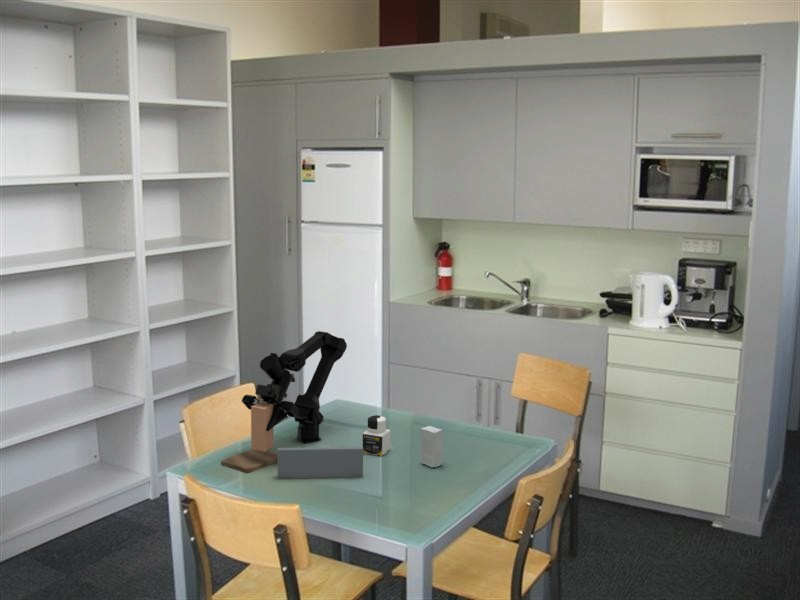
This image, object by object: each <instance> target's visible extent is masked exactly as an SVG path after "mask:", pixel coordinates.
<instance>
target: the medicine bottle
mask: <svg viewBox="0 0 800 600" xmlns="http://www.w3.org/2000/svg"><path fill="white" fill-rule="evenodd" d="M386 425H387V418H386V417H385V416H382V415H379V414H378V415H377V414H376V415H371V416H369V417H368V418H367V430H365V431H364V432H363V433H362V447H363V454H365V455H366V454H367V455H371V454H372V456H377V455H380V456H379V457H383V456H384V455H385V454H386V453H388V452H389V451H390V450H391V429H387V426H386ZM389 449H390V450H389ZM388 450H389V451H388ZM387 451H388V452H387ZM382 455H383V456H382Z"/></svg>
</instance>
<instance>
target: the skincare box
mask: <svg viewBox="0 0 800 600" xmlns="http://www.w3.org/2000/svg"><path fill="white" fill-rule="evenodd" d="M443 433H444V431H443V429H441V428H438V427H434V426H431V425H427V426H424V427H421V428H420V458H419V460H420V461H419V462H422V463H426V464H428V465H431V466H436V465H437V464H439V463H442V464H443V442H444V440H443V438H444V437H443Z"/></svg>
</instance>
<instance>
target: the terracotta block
mask: <svg viewBox="0 0 800 600" xmlns="http://www.w3.org/2000/svg"><path fill="white" fill-rule="evenodd" d="M272 414H273V405H272V404H267V403H262V402H260V403H258V404H256V405H253V406H251V410H250V423H251V424H250V425H251V426H250V429H251V430H250V436H251V437H250V438H251V444H250V445H251V448H250V450H251V449H255V450H259V451H264V452H265V451H267V450H270V449H272V448H274V442H275V441H274V439H275V438H274V435H275V434H274V432H275V431H274V427H275V426H274V427H273V428H272V429H271V430H269V431H267V430H266V428H267V425H268V423H269V421H270V419H271V416H272Z"/></svg>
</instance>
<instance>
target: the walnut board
mask: <svg viewBox="0 0 800 600" xmlns="http://www.w3.org/2000/svg"><path fill="white" fill-rule="evenodd" d="M276 462H277V452H274V451H271V450H270V449H268V450H267V451H265V452H264V451H259V450H255V449H251V448H250V449H249V450H246V451H243V452H241V453H238V454H236V455H233V456H230V457H227V458H225V459H222V460H221V461H220V465H221V464H223V465H222V466H224V465H226V466H225V467H228V466H229V467H228V468H231V467H232V468H231V469H235V470H237V471H240V472H243V473H246V474H249V473H252V472H254V471H257V470H260V469H262V468H265V467H267V466H269V465H271V464H274V463H276Z"/></svg>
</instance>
